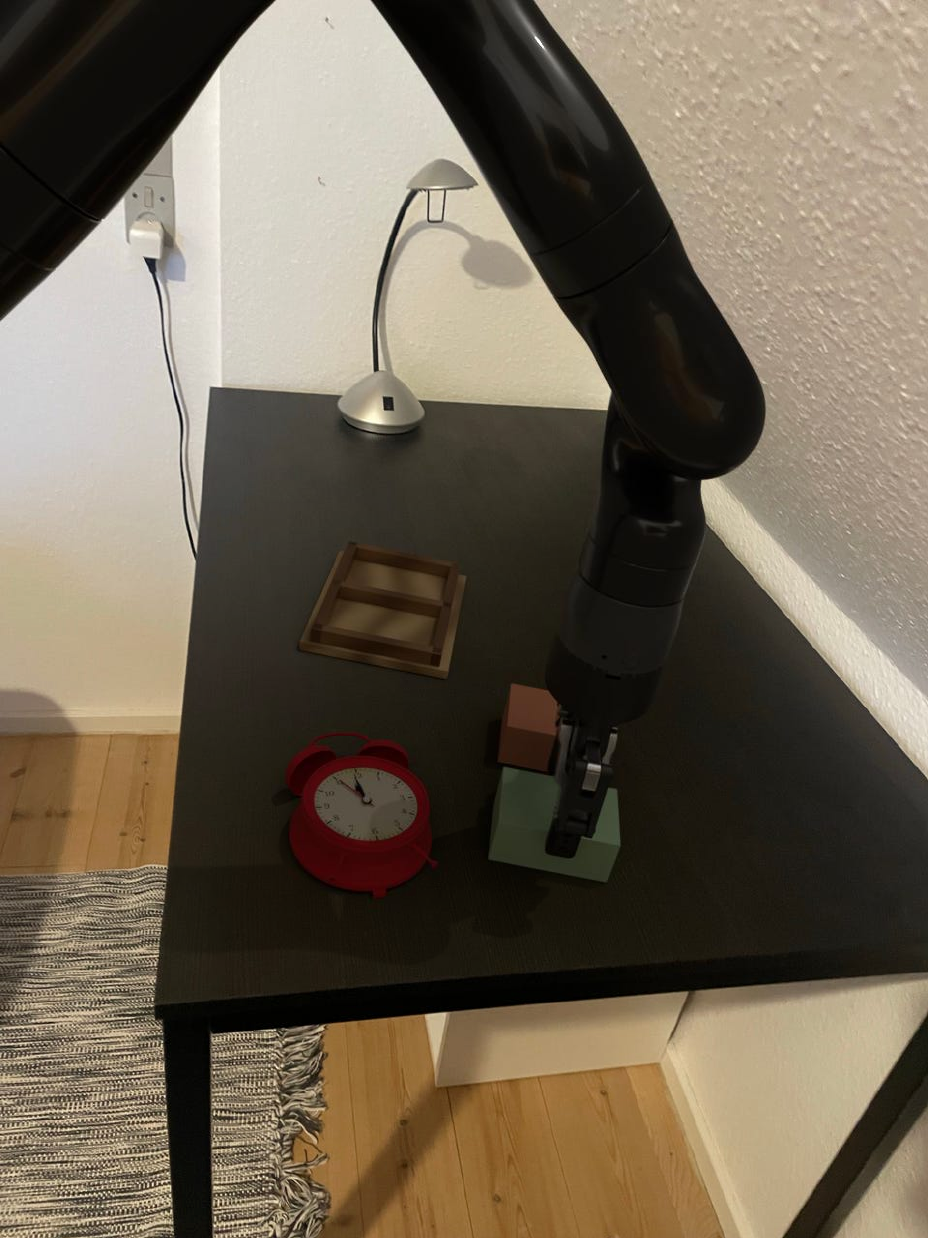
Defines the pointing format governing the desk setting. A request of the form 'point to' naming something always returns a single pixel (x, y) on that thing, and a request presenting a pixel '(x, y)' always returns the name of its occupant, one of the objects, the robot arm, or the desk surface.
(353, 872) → the alarm clock
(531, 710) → the pad terracotta
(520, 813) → the pad sage
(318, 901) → the desk surface
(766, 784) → the desk surface
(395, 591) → the divided wooden tray
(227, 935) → the desk surface
